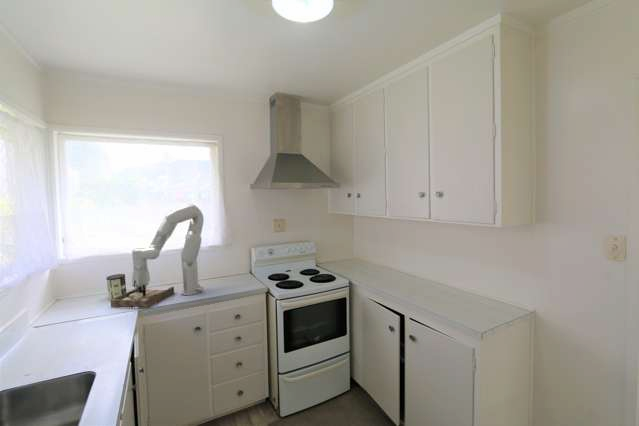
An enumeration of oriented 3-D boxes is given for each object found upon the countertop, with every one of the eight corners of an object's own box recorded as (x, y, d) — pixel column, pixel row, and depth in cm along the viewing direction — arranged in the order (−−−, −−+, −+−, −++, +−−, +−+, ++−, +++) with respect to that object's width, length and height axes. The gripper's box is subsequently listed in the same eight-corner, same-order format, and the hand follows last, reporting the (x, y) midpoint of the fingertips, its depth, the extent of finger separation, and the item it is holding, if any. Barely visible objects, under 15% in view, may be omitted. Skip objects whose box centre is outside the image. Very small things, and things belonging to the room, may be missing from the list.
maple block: (143, 298, 183) (142, 292, 183) (136, 301, 178) (136, 295, 178) (136, 298, 184) (136, 292, 184) (129, 301, 180) (129, 295, 179)
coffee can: (122, 292, 201) (120, 273, 200) (129, 295, 196) (128, 275, 194) (105, 297, 193) (103, 277, 191) (112, 300, 187) (110, 279, 186)
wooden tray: (174, 293, 198) (173, 286, 197) (146, 308, 173) (146, 301, 172) (142, 292, 201) (141, 285, 201) (111, 307, 177) (110, 300, 176)
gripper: (144, 264, 192) (146, 291, 194) (125, 271, 178) (128, 300, 179) (154, 264, 191) (156, 291, 193) (136, 271, 176) (138, 300, 178)
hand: (142, 295), depth 186 cm, fingers closed
